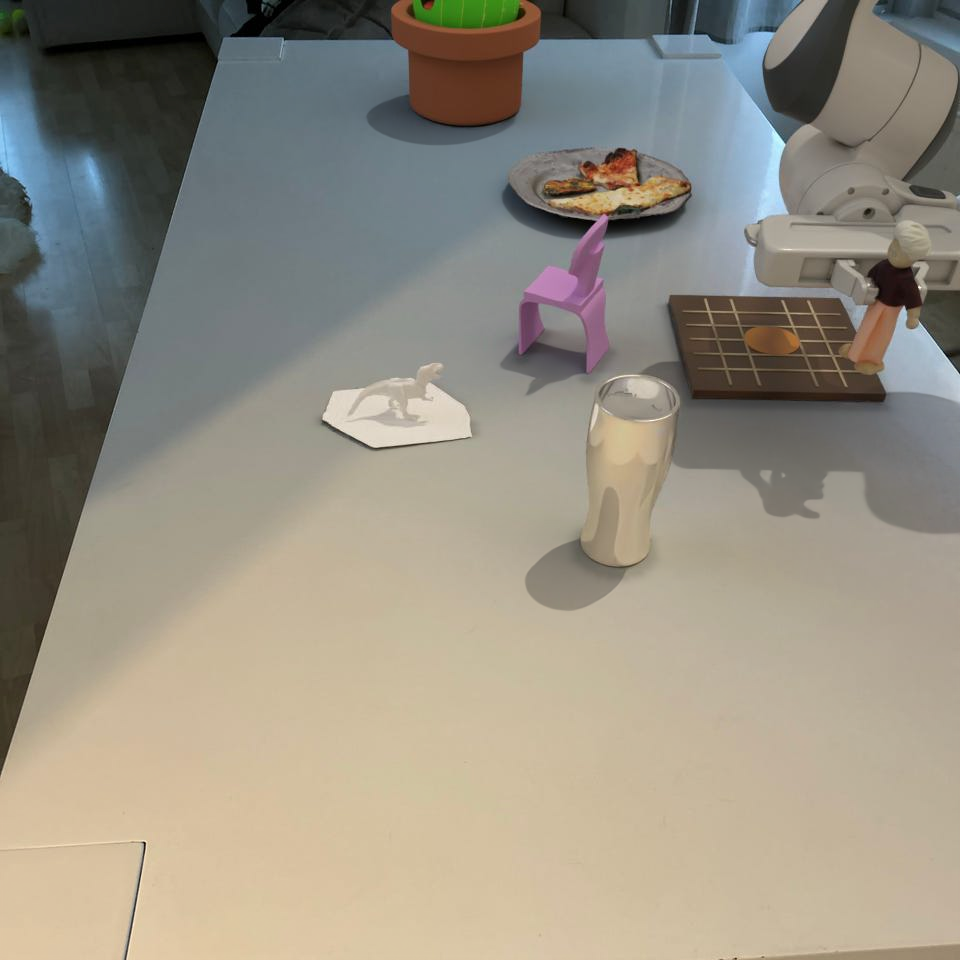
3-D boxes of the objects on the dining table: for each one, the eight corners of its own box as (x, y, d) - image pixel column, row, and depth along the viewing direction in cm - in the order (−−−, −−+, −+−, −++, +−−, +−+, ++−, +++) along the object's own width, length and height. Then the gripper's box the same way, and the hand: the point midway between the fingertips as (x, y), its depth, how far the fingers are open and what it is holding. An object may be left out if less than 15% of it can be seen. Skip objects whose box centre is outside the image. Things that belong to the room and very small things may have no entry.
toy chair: (541, 323, 111) (550, 189, 100) (613, 342, 109) (630, 206, 98) (510, 357, 106) (516, 220, 95) (585, 378, 104) (600, 240, 93)
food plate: (645, 155, 145) (649, 129, 143) (719, 221, 130) (725, 194, 128) (486, 173, 140) (486, 147, 137) (544, 245, 125) (546, 218, 122)
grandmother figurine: (818, 348, 89) (864, 208, 80) (850, 338, 90) (898, 200, 81) (879, 391, 84) (935, 249, 75) (911, 380, 86) (970, 239, 76)
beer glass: (601, 508, 89) (621, 362, 78) (668, 538, 86) (699, 391, 75) (560, 549, 85) (574, 401, 74) (629, 582, 83) (655, 434, 72)
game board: (837, 305, 115) (840, 296, 115) (883, 401, 102) (887, 392, 101) (668, 302, 115) (669, 293, 114) (691, 398, 102) (693, 388, 101)
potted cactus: (470, 74, 168) (472, -106, 150) (562, 110, 157) (576, -80, 139) (369, 103, 158) (357, -87, 139) (459, 144, 147) (460, -56, 128)
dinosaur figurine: (319, 464, 97) (303, 413, 92) (341, 384, 104) (327, 333, 99) (469, 463, 95) (461, 411, 90) (481, 381, 102) (474, 329, 97)
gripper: (747, 188, 89) (778, 259, 80) (971, 192, 89) (1027, 264, 80) (733, 255, 94) (760, 330, 84) (945, 259, 94) (996, 334, 85)
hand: (892, 298), depth 82 cm, fingers closed on grandmother figurine, 3 cm apart
